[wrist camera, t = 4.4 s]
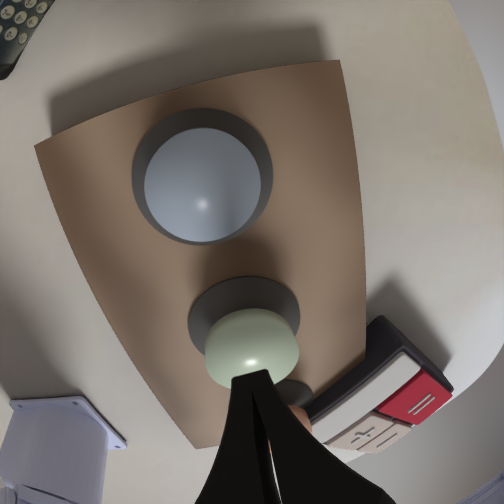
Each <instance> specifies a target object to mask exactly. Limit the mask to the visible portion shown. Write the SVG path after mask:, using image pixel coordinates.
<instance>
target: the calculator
mask: <svg viewBox="0 0 504 504" xmlns="http://www.w3.org/2000/svg"><path fill="white" fill-rule="evenodd" d="M453 390H454V388H453V386H452V385H451V384H450V382H449V381H448V380H447V378H446V377H445V376H444V375H443V373H442V372H441V371H440V370H439V369H438V368H437V367H436V366H435V365H434V364H433V363H432V362H431V361H430V360H429V359H428V358H427V357H426V356H425V355H424V354H423V353H422V352H420V351H419V350H418V349H417V348H416V347H415V346H414V345H413V344H412V343H411V342H410V341H409V340H408V339H407V338H406V337H405V336H404V335H403V334H402V333H401V332H400V331H399V330H398V329H397V328H396V327H395V326H394V325H393V324H392V323H391V322H390V321H389V320H387V319H386V318H385V317H384V316H382V315H381V316H378V317H377V318H375V319H374V320H373V321H372V322H371V323H370V324H369V325H368V326H367V327H366V351H365V359H364V360H363V361H361V362H360V363H359V364H358V365H357V366H356V367H354V368H353V369H352V370H351V371H350V372H348V373H347V374H346V375H345V376H343V377H342V378H341V379H340V380H339V381H337V382H336V383H335V384H333V385H332V386H331V387H330V388H328V389H327V390H326V391H325V392H323V393H322V394H321V395H319V396H318V397H317V398H315V399H314V400H313V403H312V404H311V405H309V406H308V407H307V408H305V409H304V410H305V411H306V413H307V415H308V418H309V421H310V424H311V427H312V435H313V436H314V437H315V438H316V439H317V440H318V441H319V442H320V443H321V444H326V445H328V446H329V447H335V448H341V449H347V450H358V451H360V452H369V453H379V452H381V451H382V450H384V449H385V448H387V447H388V446H390V445H391V444H393V443H394V442H396V441H397V440H398V439H400V438H401V437H402V436H404V435H405V434H407V433H408V432H409V431H410V430H412V427H411V426H412V425H413V424H415V425H418V424H420V423H421V422H422V421H424V420H425V419H426V418H427V417H429V416H430V415H431V414H432V413H434V412H435V411H436V410H437V409H438V408H440V407H441V406H442V405H443V404H444V403H445V402H447V401H448V400H449V399H450V398H451V397H452V394H451V393H452V392H453Z"/></svg>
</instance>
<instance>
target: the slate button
mask: <svg viewBox="0 0 504 504" xmlns="http://www.w3.org/2000/svg"><path fill="white" fill-rule="evenodd" d="M260 189H261V179H260V173H259V169H258V166H257V163H256V161H255V159H254V157H253V156H252V154H251V153H250V151H249V150H248V149H247V148H246V147H245V146H244V145H243V144H242V143H241V142H240V141H239V140H237V139H236V138H235V137H233V136H232V135H230V134H228V133H226V132H224V131H221V130H218V129H214V128H205V127H201V128H193V129H188V130H185V131H183V132H180V133H178V134H176V135H175V136H173V137H172V138H170V139H169V140H168V141H167V142H165V143H164V144H163V145H162V146H161V147H160V148H159V149H158V151H157V152H156V153H155V154H154V156H153V158H152V159H151V161H150V163H149V165H148V168H147V171H146V175H145V182H144V191H145V198H146V202H147V205H148V207H149V210H150V212H151V213H152V215H153V217H154V218H155V219H156V221H157V222H158V223H159V224H160V225H161V226H162V227H163V228H164V229H166V230H167V231H168V232H170V233H171V234H173V235H175V236H177V237H180V238H182V239H185V240H189V241H196V242H206V241H213V240H218V239H221V238H224V237H226V236H228V235H230V234H232V233H233V232H235V231H237V230H238V229H239V228H240V227H242V226H243V225H244V224H245V223H246V222H247V220H248V219H249V218H250V216H251V215H252V213H253V212H254V210H255V208H256V205H257V203H258V200H259V196H260Z"/></svg>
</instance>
